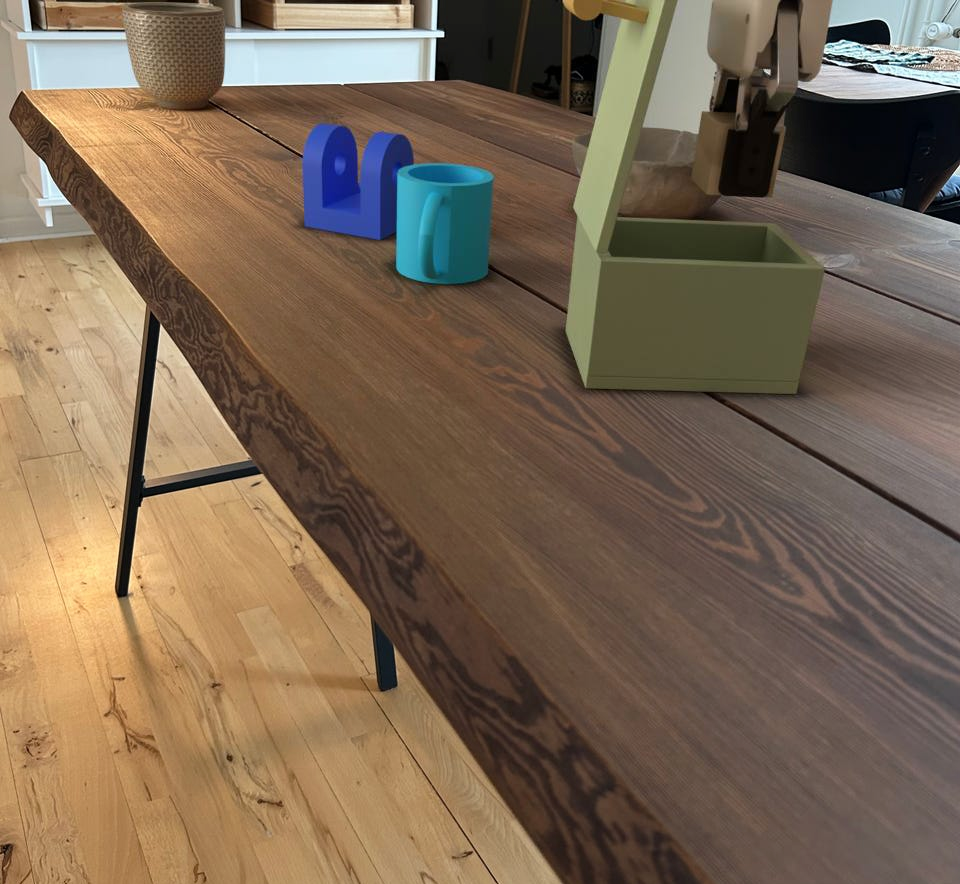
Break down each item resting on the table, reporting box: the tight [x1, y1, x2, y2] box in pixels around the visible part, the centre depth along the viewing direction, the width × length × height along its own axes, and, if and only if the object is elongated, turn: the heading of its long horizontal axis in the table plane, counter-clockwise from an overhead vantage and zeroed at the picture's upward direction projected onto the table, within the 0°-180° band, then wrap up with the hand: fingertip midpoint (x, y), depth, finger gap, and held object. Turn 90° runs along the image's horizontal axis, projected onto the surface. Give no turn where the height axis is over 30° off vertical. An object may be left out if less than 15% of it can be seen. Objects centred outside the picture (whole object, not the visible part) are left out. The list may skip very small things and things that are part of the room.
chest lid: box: [562, 0, 679, 254], centre depth 66 cm, size 16×11×5 cm
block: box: [691, 110, 787, 198], centre depth 68 cm, size 4×4×4 cm
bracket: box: [302, 122, 415, 241], centre depth 104 cm, size 18×8×9 cm, turn 157°
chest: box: [565, 215, 826, 395], centre depth 73 cm, size 15×11×9 cm
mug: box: [395, 162, 494, 285], centre depth 87 cm, size 12×8×8 cm
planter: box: [121, 1, 226, 111], centre depth 147 cm, size 14×14×13 cm
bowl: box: [571, 126, 723, 220], centre depth 109 cm, size 18×18×8 cm
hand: (732, 183), depth 69 cm, fingers closed on block, 4 cm apart
